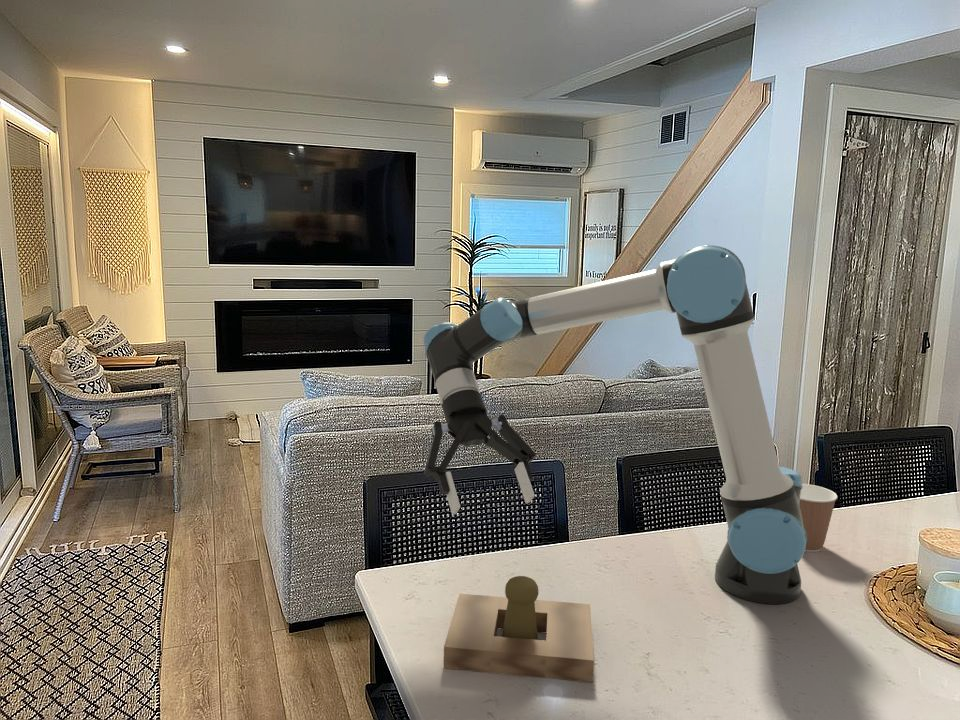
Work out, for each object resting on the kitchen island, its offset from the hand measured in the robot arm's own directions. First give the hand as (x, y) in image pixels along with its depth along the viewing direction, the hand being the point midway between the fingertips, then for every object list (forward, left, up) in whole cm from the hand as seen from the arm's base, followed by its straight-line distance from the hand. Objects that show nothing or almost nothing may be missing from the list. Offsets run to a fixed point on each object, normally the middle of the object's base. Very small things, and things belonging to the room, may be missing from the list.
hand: (494, 505), depth 119 cm
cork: (-5, +9, -19) cm, 22 cm away
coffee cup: (-64, -38, -19) cm, 76 cm away
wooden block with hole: (-6, +9, -19) cm, 22 cm away
